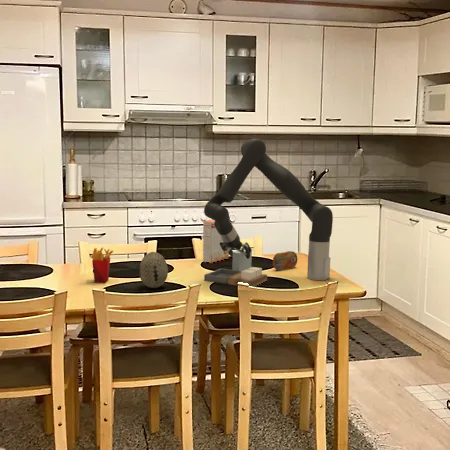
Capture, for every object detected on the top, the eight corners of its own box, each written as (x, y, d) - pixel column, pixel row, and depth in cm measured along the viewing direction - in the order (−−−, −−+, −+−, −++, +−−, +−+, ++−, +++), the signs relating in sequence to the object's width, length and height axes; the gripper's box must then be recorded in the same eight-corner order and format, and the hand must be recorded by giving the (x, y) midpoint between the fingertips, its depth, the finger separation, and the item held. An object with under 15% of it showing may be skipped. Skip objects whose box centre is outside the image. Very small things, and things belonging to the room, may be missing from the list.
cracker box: (220, 257, 316) (221, 217, 313) (229, 259, 312) (230, 218, 309) (202, 261, 305) (202, 220, 302) (211, 263, 302) (212, 221, 298)
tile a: (261, 275, 268) (262, 268, 268) (257, 277, 264) (257, 270, 264) (252, 273, 270) (252, 266, 270) (247, 275, 267) (248, 268, 266)
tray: (242, 277, 276) (243, 271, 275) (226, 284, 263) (226, 278, 263) (221, 273, 281) (221, 268, 281) (204, 280, 268) (204, 274, 268)
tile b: (255, 277, 263) (255, 270, 263) (250, 279, 259) (250, 272, 259) (246, 276, 265) (246, 269, 265) (241, 278, 261) (241, 271, 261)
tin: (275, 271, 288) (276, 254, 287) (271, 270, 291) (271, 253, 289) (297, 267, 298) (298, 250, 297) (292, 266, 301) (293, 249, 299)
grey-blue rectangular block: (251, 269, 291) (251, 249, 290) (238, 274, 281) (239, 253, 279) (244, 268, 293) (245, 248, 291) (232, 273, 283) (232, 252, 281)
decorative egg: (170, 290, 251) (170, 254, 248) (141, 292, 247) (141, 255, 245) (164, 283, 262) (165, 248, 259) (137, 284, 258) (137, 249, 256)
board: (266, 281, 269) (267, 274, 269) (252, 288, 257) (252, 281, 257) (242, 277, 275) (243, 271, 275) (227, 284, 263) (227, 277, 263)
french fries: (95, 279, 266) (95, 245, 264) (114, 279, 266) (114, 245, 263) (90, 284, 257) (90, 249, 255) (110, 284, 257) (110, 249, 255)
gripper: (245, 230, 271) (257, 251, 282) (218, 226, 278) (230, 247, 289) (239, 243, 267) (251, 264, 279) (211, 240, 274) (224, 260, 286)
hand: (240, 256), depth 284 cm, fingers open, 8 cm apart
